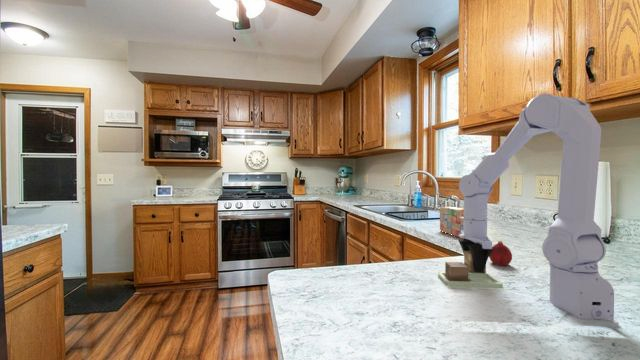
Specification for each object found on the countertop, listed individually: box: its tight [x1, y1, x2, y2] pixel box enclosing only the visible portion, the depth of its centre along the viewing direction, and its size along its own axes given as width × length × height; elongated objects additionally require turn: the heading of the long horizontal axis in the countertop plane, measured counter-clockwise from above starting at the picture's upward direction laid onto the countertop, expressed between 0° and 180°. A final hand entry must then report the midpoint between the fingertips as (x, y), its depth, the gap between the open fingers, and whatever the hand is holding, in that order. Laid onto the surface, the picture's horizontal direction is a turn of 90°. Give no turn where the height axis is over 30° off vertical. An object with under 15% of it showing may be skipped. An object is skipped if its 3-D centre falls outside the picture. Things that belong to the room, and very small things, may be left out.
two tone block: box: [463, 251, 487, 274], centre depth 79 cm, size 4×4×6 cm
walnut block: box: [444, 261, 469, 281], centre depth 71 cm, size 4×4×4 cm
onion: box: [488, 240, 513, 267], centre depth 85 cm, size 6×6×8 cm
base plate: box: [435, 271, 509, 291], centre depth 71 cm, size 10×13×2 cm
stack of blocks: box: [439, 206, 464, 240], centre depth 129 cm, size 21×6×12 cm, turn 10°
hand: (474, 268), depth 79 cm, fingers open, 4 cm apart
